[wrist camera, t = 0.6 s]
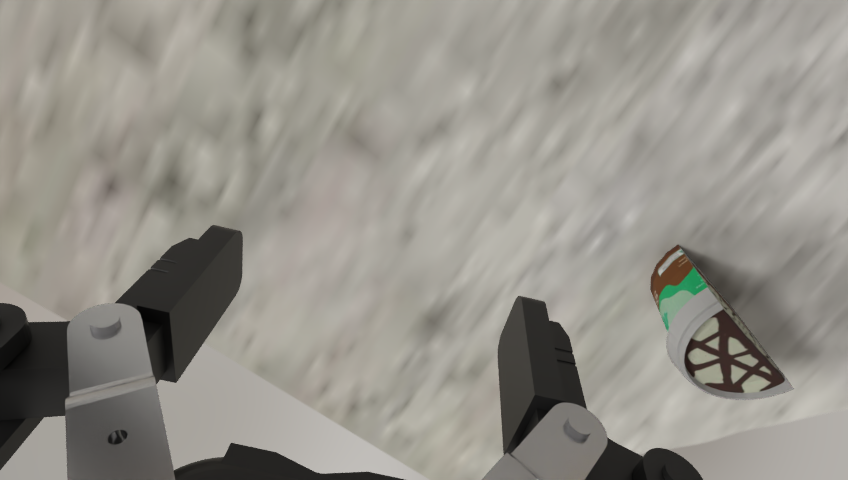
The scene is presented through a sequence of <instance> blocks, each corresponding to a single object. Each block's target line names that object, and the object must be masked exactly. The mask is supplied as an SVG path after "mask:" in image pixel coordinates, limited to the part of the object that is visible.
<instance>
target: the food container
mask: <svg viewBox="0 0 848 480" xmlns="http://www.w3.org/2000/svg"><path fill="white" fill-rule="evenodd" d="M651 292H652V295H653V297H654V300H655V302H656V305H657V307H658V309H659V312H660V314H661V317H662V319H663V322H664V324H665V327H666V329H667V331H668V334H667V341H666V347H667V351H668V355H669V357H670V359H671V361H672V363H673V364H674V365H675V367H676V368H677V369H678V370H679V371H680V372H681V373H682V375H683V376H684V377H685V378H686V379H687V380H688V381H689V382H691V383H692V384H693V385H695V386H697V387H698V388H699V389H701V390H702V391H704V392H706V393H708V394H711V395H713V396H716V397H720V398H725V399H733V400H753V399H761V398H767V397H772V396H775V395H779V394H782V393H785V392H788V391H790V390H793V389H794V388H793V387H792V385H791V384H790V382H789V381H788V380H787V378H786V377H785V376H784V374H783V373H782V372H781V371H780V370H779V368H778V367H777V366H776V364H775V363H774V362H773V360H772V359H771V358H770V356H769V355H768V354H767V353H766V351H765V350H764V349H763V347H762V346H761V345H760V343H759V342H758V341H757V339H756V338H755V337H754V335H753V334H752V333H751V332H750V330H749V329H748V328H747V326H746V325H745V324H744V322H743V321H742V320H741V318H740V317H739V316H738V314H737V313H736V312H735V311H734V309H733V308H732V307H731V305H730V304H729V303H728V302H727V300H726V299H725V298H724V297H723V296H722V295H721V294H720V292H719V291H718V290H717V289H716V288H715V287H714V285H713V284H712V283H711V282H710V281H709V280H708V279H707V277H706V276H705V275H704V274H703V273H702V272H701V270H700V269H699V268H698V267H697V266H696V265H695V264H694V262H693V261H692V260H691V259H690V258H689V257H688V255H687V254H686V253H685V252H684V251H683V250H682V249H681V247H680V246H679V245H677V246H675V247H674V248H673V249H671V250H670V251H668V252H667V253H666V254H665V256H664V257H663V258H662V259H661V260H660V261H659V262H658V264H657V265H656V267H655V269H654V272H653V274H652V276H651Z"/></svg>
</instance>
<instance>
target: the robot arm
mask: <svg viewBox="0 0 848 480" xmlns="http://www.w3.org/2000/svg"><path fill="white" fill-rule="evenodd" d="M242 247H243V237H242V233H241V231H238V230H233V229H229V228H225V227H220V226H216V225H212V226H211V227H210V228H209V229H208V230H207V231H206V232H205V233H204V234H203V235H202V236H201V237H200V238H199V239H198V240H197V239H192V238H188V239H186V240H184V241H182V242H180V243H178V244H176V245H173V246H172V247H171V248H170V249H169V250H168V251H167V252H166V253H165V254H164V255H163V256H162V257H161V258H160V260H158V261H157V262H156V263H155V264H154V265H153V266H152V267H151V269H150V270H148V271H147V272H146V273H145V274H144V275H143V276H141V277H140V278H139V279H138V280H137V281H136V282H135V283H134V284H133V285H132V286H131V287H130V288H129V289H128V290H127V291H126V292H125V293H124V294H123V295H122V296H121V297H120V298H119V299H118V300H117V301H116V302H115V303H108V304H102V305H97V306H94V307H91V308H89V309H86V310H84V311H82V312H81V313H79V314H78V315H76V316H75V317H74V318H73V319H72V320H71V321H67V322H28V321H27V318H26V314H25V312H24V311H23V310H22V309H21V308H19V307H18V306H15V305H12V304H6V303H0V470H1V469H2V467H3V466H4V465H5V464H6V463H7V461H8V460H9V459H10V458H11V456H12V455H13V454H14V453H15V452H16V451H17V449H18V448H19V447H20V446H21V444H22V443H23V442H24V441H25V440H26V438H27V437H28V436H29V435H30V433H31V432H32V431H33V430H34V429H35V428H36V426H37V425H38V424H39V423H40V421H41V420H42V419H43V418H44V417H52V416H65V420H66V449H67V477H68V480H404V479H399V478H395V477H390V476H385V475H380V474H375V473H371V472H353V473H332V474H320V473H316V472H314V471H312V470H310V469H308V468H306V467H304V466H302V465H300V464H298V463H296V462H294V461H292V460H290V459H288V458H286V457H284V456H282V455H280V454H278V453H276V452H271V451H267V450H262V449H257V448H253V447H248V446H243V445H239V444H234V443H231V444H230V446H229V448H228V450H227V452H226V454H225V456H224V457H221V458H211V459H205V460H201V461H197V462H194V463H191V464H188V465H185V466H183V467H180V468H178V469H176V470H173V465H172V460H171V455H170V450H169V445H168V440H167V435H166V430H165V425H164V420H163V415H162V410H161V406H160V401H159V395H158V391H157V386H156V384H157V383H158V382H159V380H165V381H170V382H175V383H176V382H177V381H178V379H179V378H180V377H181V375H182V374H183V372H184V371H185V369H186V367H187V366H188V365H189V363H190V362H191V360H192V359H193V357H194V356H195V354H196V353H197V352H198V350H199V348H200V347H201V346H202V344H203V343H204V341H205V340H206V338H207V337H208V335H209V334H210V332H211V331H212V330H213V328H214V327H215V325H216V324H217V322H218V321H219V319H220V318H221V316H222V315H223V313H224V312H225V310H226V309H227V308H228V306H229V305H230V303H231V302H232V300H233V299H234V297H235V296H236V294H237V292H238V290H239V287H240V284H241V279H242ZM572 352H573V351H572V347H571V343H570V339H569V336H568V335H567V334H566V332H565V331H564V329H563V328H562V326H561V325H560V324H559V323H557V322H553V321H549V318H548V313H547V308H546V304H545V302H544V301H539V300H535V299H531V298H526V297H522V296H518V297H517V298H516V300H515V302H514V305H513V307H512V310H511V312H510V314H509V317H508V319H507V322H506V324H505V326H504V329H503V331H502V334H501V337H500V341H499V346H498V368H499V385H500V401H501V418H502V434H503V451H504V456H503V457H502V458H501V459H500V460H499V461H498V462H497V463H496V464H495V465H494V467H493V468H492V469H491V470H490V471H489V472H488V473H487V474H486V475H485V476H484V478H483V479H482V480H703V479H702V477H701V476H700V474H699V473H698V471H697V470H696V469H695V468H694V467H693V466H692V465H691V464H690V463H689V462H688V461H687V460H685V459H684V458H683V457H681V456H680V455H678V454H676V453H674V452H672V451H670V450H667V449H662V448H654V449H651V450H649V451H648V452H646V454H645V455H644V456H643V457H642V456H640V455H638V454H636V453H635V452H633V451H631V450H629V449H627V448H625V447H623V446H621V445H619V444H617V443H615V442H613V441H612V440H610V439H609V438H608V437H607V434H606V431H605V428H604V427H603V425H602V423H601V422H600V421H599V419H598V418H597V417H596V416H595V415H594V414H592V413H591V412H590V411H588V410H587V408H586V404H585V400H584V396H583V391H582V387H581V383H580V379H579V375H578V371H577V367H576V366H575V364H576V363H575V359H574V355H573V354H572Z"/></svg>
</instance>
